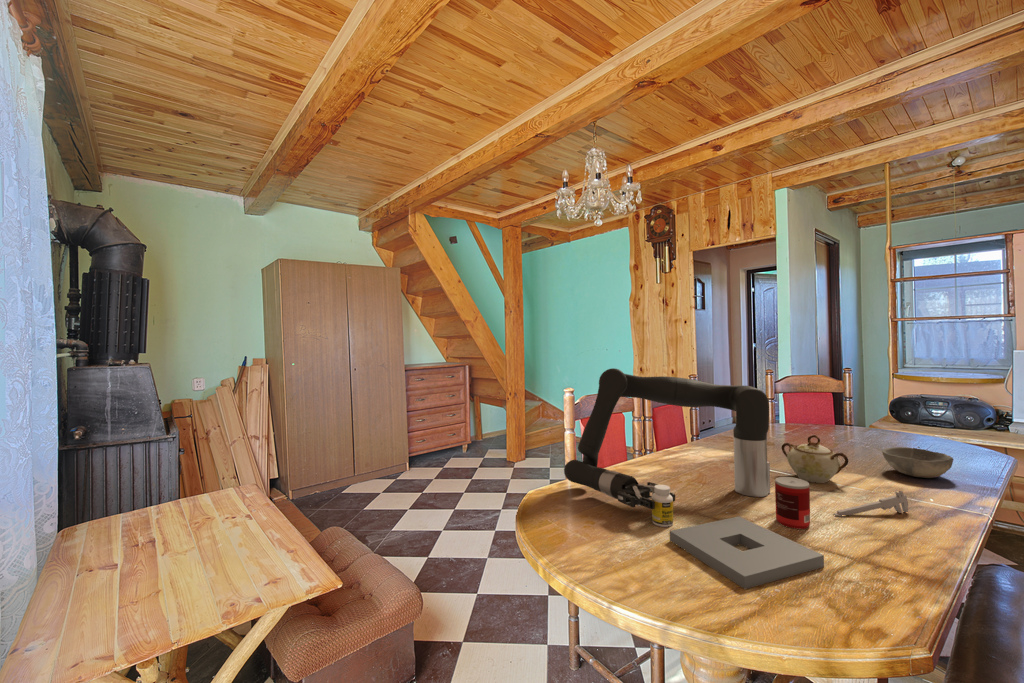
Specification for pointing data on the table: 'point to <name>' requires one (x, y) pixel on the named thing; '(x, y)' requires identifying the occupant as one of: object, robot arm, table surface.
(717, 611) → the table surface
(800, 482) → the canned food
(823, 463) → the sugar bowl
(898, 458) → the bowl
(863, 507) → the caliper
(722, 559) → the socket board
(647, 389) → the robot arm
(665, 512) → the supplement bottle
